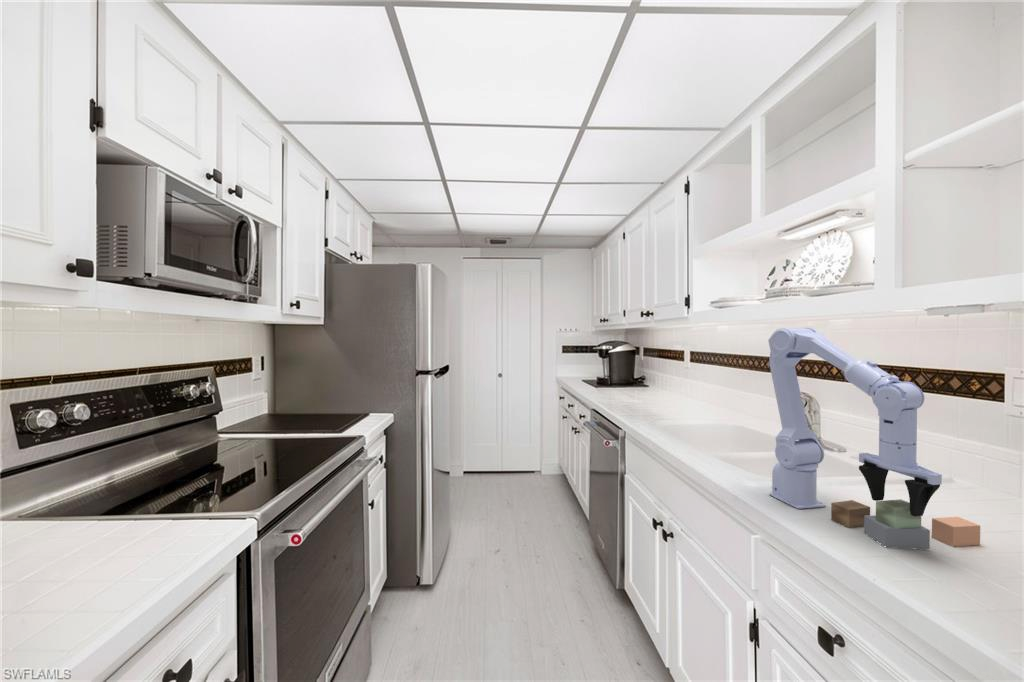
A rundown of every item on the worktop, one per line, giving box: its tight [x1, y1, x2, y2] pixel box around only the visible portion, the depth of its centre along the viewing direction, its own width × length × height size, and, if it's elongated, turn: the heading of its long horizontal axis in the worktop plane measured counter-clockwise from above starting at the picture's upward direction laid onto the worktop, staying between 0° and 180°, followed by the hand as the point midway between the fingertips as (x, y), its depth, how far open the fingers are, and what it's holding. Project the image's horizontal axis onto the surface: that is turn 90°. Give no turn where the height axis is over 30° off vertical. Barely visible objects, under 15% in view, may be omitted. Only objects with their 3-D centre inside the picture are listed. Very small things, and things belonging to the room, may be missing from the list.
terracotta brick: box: [931, 516, 981, 548], centre depth 87 cm, size 4×6×4 cm, turn 95°
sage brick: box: [875, 498, 922, 529], centre depth 87 cm, size 4×6×4 cm, turn 98°
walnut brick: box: [830, 499, 871, 529], centre depth 96 cm, size 4×6×4 cm, turn 103°
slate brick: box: [863, 515, 931, 550], centre depth 88 cm, size 6×8×4 cm
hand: (896, 507), depth 87 cm, fingers open, 7 cm apart
